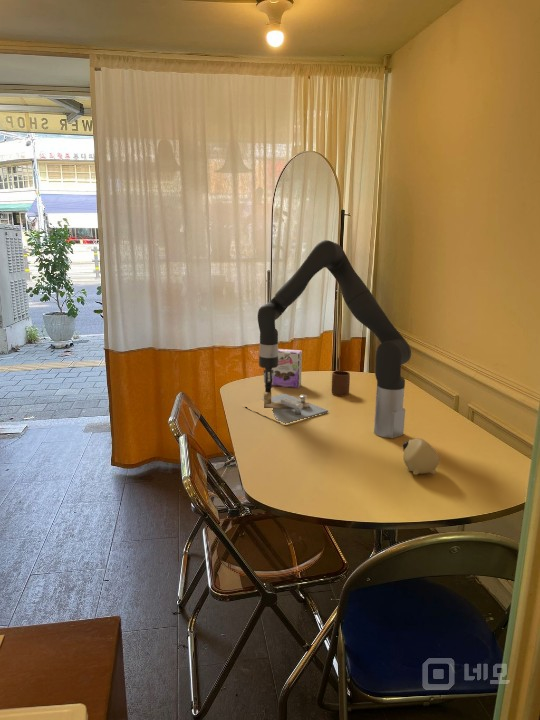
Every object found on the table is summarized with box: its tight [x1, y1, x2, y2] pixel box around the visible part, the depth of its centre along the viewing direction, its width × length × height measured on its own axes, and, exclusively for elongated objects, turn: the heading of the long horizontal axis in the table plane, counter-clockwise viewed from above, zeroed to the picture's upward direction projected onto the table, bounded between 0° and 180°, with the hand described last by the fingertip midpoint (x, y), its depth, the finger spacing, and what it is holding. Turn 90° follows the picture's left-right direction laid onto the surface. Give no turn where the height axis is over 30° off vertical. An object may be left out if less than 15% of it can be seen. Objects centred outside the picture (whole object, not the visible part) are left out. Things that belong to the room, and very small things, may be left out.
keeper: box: [281, 394, 308, 415], centre depth 194 cm, size 10×10×4 cm
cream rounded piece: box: [402, 437, 440, 476], centre depth 146 cm, size 10×12×11 cm
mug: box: [331, 369, 351, 397], centre depth 218 cm, size 12×8×9 cm, turn 6°
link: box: [263, 391, 310, 408], centre depth 197 cm, size 18×5×6 cm, turn 92°
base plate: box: [260, 393, 329, 424], centre depth 197 cm, size 26×22×1 cm
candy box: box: [272, 348, 303, 389], centre depth 226 cm, size 14×6×16 cm, turn 73°
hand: (268, 396), depth 200 cm, fingers closed
